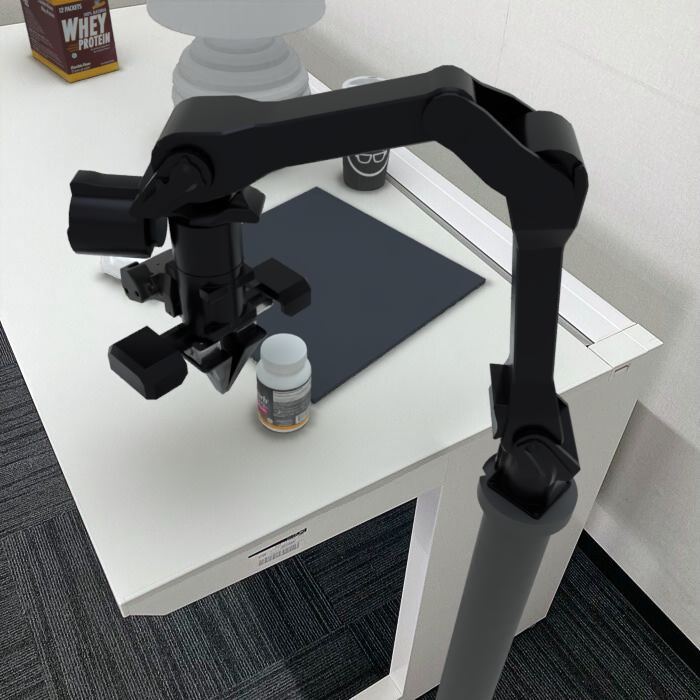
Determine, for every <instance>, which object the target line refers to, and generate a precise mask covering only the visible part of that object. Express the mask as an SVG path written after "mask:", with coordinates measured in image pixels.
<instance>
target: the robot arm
mask: <svg viewBox="0 0 700 700" xmlns="http://www.w3.org/2000/svg"><path fill="white" fill-rule="evenodd" d="M432 142H436V143H438V144H439V145H440V146H442V147H444V148H445V149H447V150H448V151H450V152H452V153H453V154H454V155H455V156H456V157H457V158H458V159H459V160H460V161H462V163H463V164H464V165H465V166H467V167H468V169H470V170H471V171H472V172H473V173H474V174H475V175H476V176H477V177H478V178H479V179H480V180H481V181H482V182H483V183H484V184H485V185H486V186H488V187H489V188H490V189H492V190H494V191H495V192H497V193H498V194H500V195H502V196H503V197H505V200H506V207H507V211H508V217H509V222H510V228H511V233H512V248H511V283H510V284H511V286H510V287H511V288H510V321H509V325H510V326H509V353H508V357H507V358H506V359H505V361H504V363H495V362H494V363H492V362H490V363H489V375H490V385H489V387H488V397H489V398H488V399H489V400H488V401H489V409H490V410H489V411H490V421H491V422H490V423H491V429H492V430H491V431H492V439H493V440H495V441H496V440H498V439H499V441H500V442H499V443H498V448H497V452H496V453H497V456H496V460H495V464H494V470H496V472H495V473H494V474H493V475H492V476H491V477H490V478H489V479H488V480H487V486H488V487H489V488H490V489H492V490H493V491H495V492H496V493H498V494H499V495H500V496H502V497H503V498H505V499H506V500H508V501H509V502H510V503H512V504H513V505H515V506H516V507H517V508H519V509H520V510H522V511H523V512H525V513H526V514H527V515H529V516H530V517H532V518H533V519H535V520H539V519H541V518H542V516H543V515H544V514H545V513H546V512H547V511H548V510H549V509H550V508H551V507H552V506H553V505H554V504H555V503H556V502H557V501H558V500H559V499H560V497H561V496H562V495H563V494H564V493H565V492H566V491H567V490H568V489H569V488H570V486H571V481H570V480H571V479H572V478H574V477H576V476H577V474H579V473H580V472H581V470H582V469H581V463H580V458H579V453H578V449H577V442H576V438H575V437H576V436H575V432H574V425H573V423H572V416H571V411H570V405H569V403H568V402H567V401H566V400H565V399H564V398H563V397H562V396H561V395H560V394H559V393H558V392H557V390H556V384H555V364H556V352H557V341H558V340H557V339H558V329H559V328H558V326H559V314H560V313H559V312H560V302H561V300H560V299H561V291H562V290H561V287H562V276H563V263H564V252H565V248H566V245H567V243H568V242H569V240H570V239H571V237H572V235H573V234H574V232H575V231H576V229H577V227H578V225H579V221H580V218H581V215H582V212H583V209H584V206H585V202H586V199H587V196H588V191H589V187H590V182H589V173H588V169H587V167H586V163H585V160H584V157H583V155H582V151H581V147H580V145H579V140H578V138H577V135H576V132H575V129H574V126H573V124H572V123H571V122H570V121H568V119H567V118H565V117H564V116H563V115H561V114H559V113H556V112H554V111H552V110H541V109H539V110H536V109H535V108H533V107H532V106H531V105H529V104H528V103H526V102H525V101H523V100H521V98H519V97H517V96H516V95H514V94H513V93H510V92H509V91H506V90H503V89H501V88H498V87H495V86H493V85H490V84H488V83H485V82H483V81H481V80H479V79H478V78H476V77H474V76H473V75H471V74H470V73H469V72H467V71H466V70H464V69H463V68H462V67H458V66H456V65H453V64H442V65H440V66H437V67H435V68H433V69H431V70H428V71H426V72H421V73H416V74H410V75H406V76H402V77H401V76H400V77H396V78H395V77H394V78H391V79H386V80H384V81H379V82H374V83H369V84H364V85H359V86H354V87H348V88H343V89H341V88H339V89H333V90H328V91H322V92H318V93H311V95H307V96H302V97H297V98H292V99H286V100H281V101H257V100H253V99H249V98H245V97H241V96H237V95H225V96H195V97H191V98H188V99H185V100H183V101H181V102H180V103H179V104H177V105H176V107H175V108H174V107H173V109H172V111H171V113H170V115H169V117H168V119H167V121H166V123H165V125H164V127H163V129H162V131H161V132H160V135H159V136H158V138H157V140H156V142H155V144H154V146H153V148H152V150H151V155H150V161H149V164H148V165H147V167H146V169H145V171H144V173H143V175H130V174H117V173H115V174H114V173H103V172H100V171H96V170H90V169H89V170H88V169H87V170H86V169H78V170H77V171H76V172H75V174H74V175H73V177H72V179H71V181H70V182H69V189H70V195H71V196H70V201H69V205H68V227H67V229H66V235H67V241H68V243H69V246H70V249H71V250H72V251H73V252H74V253H75V254H76V255H85V256H96V257H97V256H98V257H100V256H111V257H126V258H141V259H148V258H150V259H148V260H146V261H144V262H141V263H140V264H139V262H137V261H135V262H133V263H131V264H129V265H127V266H125V267H123V268H120V274H121V279H120V282H121V286H122V289H123V291H124V294H125V295H126V297H127V298H128V299H129V300H130V301H133V302H136V303H138V304H139V303H140V304H144V303H146V302H148V301H152V300H154V301H158V302H161V303H163V304H164V311H165V313H166V314H168V315H169V316H170V317H172V318H173V319H175V318H177V317H180V318H181V322H180V323H178V324H176V325H175V326H173V327H172V328H170V329H168V330H166V331H164V332H161V334H159V333H158V332H156V331H155V330H154V329H153V328H151V327H150V326H149V325H145V326H143V327H141V328H139V329H138V330H136V331H134V332H132V333H130V334H129V335H127V336H125V337H123V338H122V339H119V340H118V341H116V342H114V343H112V344H111V345H109V346H108V350H107V359H108V363H109V368H110V370H111V371H112V372H114V373H115V374H116V375H117V376H118V377H119V378H120V379H121V380H123V381H124V382H125V383H126V384H127V385H129V387H131V388H132V389H133V390H134V391H136V392H137V393H138V395H140V396H141V397H142V398H144V399H145V400H146V401H157V400H159V399H160V398H162V397H164V396H166V395H167V394H168V393H170V392H172V391H174V390H175V389H178V387H180V386H181V385H183V383H184V382H185V380H186V378H187V376H188V374H189V368H188V363H189V364H191V365H192V367H194V368H196V369H197V370H198V371H199V372H201V373H203V374H205V375H206V377H207V378H208V380H209V381H210V383H211V384H212V386H213V387H214V389H215V390H216V391H217V392H218V393H219V394H221V395H225V394H226V393H228V392H229V391H230V390H231V389H232V387H233V385H234V384H235V382H236V380H237V378H238V377H239V375H240V374H241V371H242V370H243V368H244V367H245V365H246V364H247V362H248V360H249V359H250V358H251V357H250V356H251V355H252V353H253V352H254V350H255V349H256V348H257V346H258V345H259V343H260V342H261V341H262V340H264V339H265V338H266V336H267V332H266V330H265V329H263V328H262V327H260V326H259V325H257V324H256V319H255V318H256V317H257V315H258V314H260V313H261V312H263V311H265V310H266V309H268V308H270V307H271V306H273V301H272V300H273V299H274V300H276V301H277V302H279V303H280V311H281V312H282V313H283V314H285V315H287V316H290V317H292V316H294V315H296V314H297V313H299V312H301V311H302V310H304V309H305V308H307V307H309V306H310V305H311V285H310V283H309V281H308V280H307V278H305V277H304V276H302V275H301V274H299V273H297V272H296V271H294V270H293V269H291V268H289V267H288V266H286V265H285V264H283V263H281V262H280V261H278V260H277V259H275V258H273V257H271V258H270V259H268V260H266V261H264V262H262V263H261V264H259V265H257V266H255V267H253V268H251V267H250V266H248V265H247V264H245V263H244V252H243V236H242V223H252V224H256V223H258V222H259V221H260V218H261V214H262V213H263V212H264V211H263V210H264V207H265V203H266V199H267V196H266V195H265V193H264V192H262V191H261V190H259V189H258V188H256V187H254V186H252V185H253V184H255V183H256V182H258V181H260V180H261V179H263V178H265V177H266V176H268V175H269V174H271V173H274V172H277V171H280V170H282V169H285V168H290V167H296V166H303V165H307V164H308V165H309V164H313V163H319V162H325V161H330V160H336V159H342V157H348V156H354V155H359V154H365V153H371V152H376V151H382V150H388V149H390V150H392V149H398V148H399V149H400V148H405V147H410V146H415V145H421V144H422V145H423V144H427V143H432ZM168 229H169V230H168ZM168 231H169V237H170V244H171V248H168V249H166V250H164V251H162V252H160V253H158V254H156V255H153V252H154V250H155V248H162V247H163V246H164V245H165V243H166V240H167V235H168ZM151 255H152V256H154V257H152V258H151ZM246 288H248V289H250V290H248V291H246ZM186 361H187V362H188V363H187V362H186ZM490 482H492V483H493V484H491V483H490ZM566 483H567V484H566ZM535 514H538V515H535Z"/></svg>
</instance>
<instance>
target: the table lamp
mask: <svg viewBox="0 0 700 700" xmlns="http://www.w3.org/2000/svg"><path fill="white" fill-rule="evenodd" d="M145 5H146V11H147V14H148V16H149V17H150V18H151V20H152V21H154V22H155V23H157V24H158V25H160V26H161V27H163V28H166V29H167V30H170V31H173V32H176V33H178V34H182V35H186V36H191V37H194V39H193V40H192V41H191V43H189V44H187V46H186V47H185V48H183V49H182V52H181V54H180V56H179V58H178V62H177V63H176V64H175V66H174V69H173V71H172V76H171V79H172V80H171V81H172V87H171V100H172V103H173V109H174V108H175V107H176V105H177V104H179V103H180V102H181V101H183V100H185V99H188V98H191V97H195V96H225V95H237V96H241V97H245V98H249V99H253V100H257V101H281V100H286V99H292V98H297V97H302V96H307V95H312V92H311V91H312V90H311V87H310V83H309V82H310V77H309V71H308V69H307V67H306V65H305V63H303V61H302V60H301V57H300V55H299V53H298V51H297V50H296V48H295V47H294V46H293V45H291V44H290V43H288V42H287V41H286V40H285V38H283V37H284V36H288V35H291V34H294V33H295V34H296V33H298V32H301V31H304V30H306V29H308V28H310V27H312V26H314V25H316V24H317V23H318V22H320V20H322V18H323V17H324V16H325V14H326V9H327V7H326V0H146V4H145Z"/></svg>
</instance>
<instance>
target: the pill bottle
mask: <svg viewBox="0 0 700 700" xmlns="http://www.w3.org/2000/svg"><path fill="white" fill-rule="evenodd" d="M255 374H256V375H255V377H256V396H257V397H256V398H257V413H258V419H259V421H260V422H261V423H262V425H263V426H265V427H266V428H267V429H269V430H271V431H274V432H278V433H291V432H294V431H296V430H297V431H298V430H299V429H301V428H302V427H304V425H305V424H306V423H308V421H309V419H310V417H311V410H312V409H311V407H312V402H311V365H310V362H309V360H308V359H307V347H306V344H305V343H304V341H303V340H302V339H301V338H299V337H297V336H295V335H292V334H276V335H273V336H271V337H269V338H267V339H266V340H265V341H264V342H263V343H262V345H261V359H260V361H259V362H257V364H256V369H255Z"/></svg>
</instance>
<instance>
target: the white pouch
mask: <svg viewBox="0 0 700 700" xmlns="http://www.w3.org/2000/svg"><path fill="white" fill-rule="evenodd" d="M154 256H155V255H153V254H152V255H151V258H152V257H154ZM148 259H150V258H148ZM148 259H141V258H126V257H111V256H99V264H100V266H101V269H102V270H100V272H99V273H100V274H108V275H109V276H112V277H114V278H116V279H118V280H121V274H120V268H123V267H125V266H127V265H129V264H131V263H133V262H135V261H137V262H139V264H140V263H141V262H144V261H146V260H148Z"/></svg>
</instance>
